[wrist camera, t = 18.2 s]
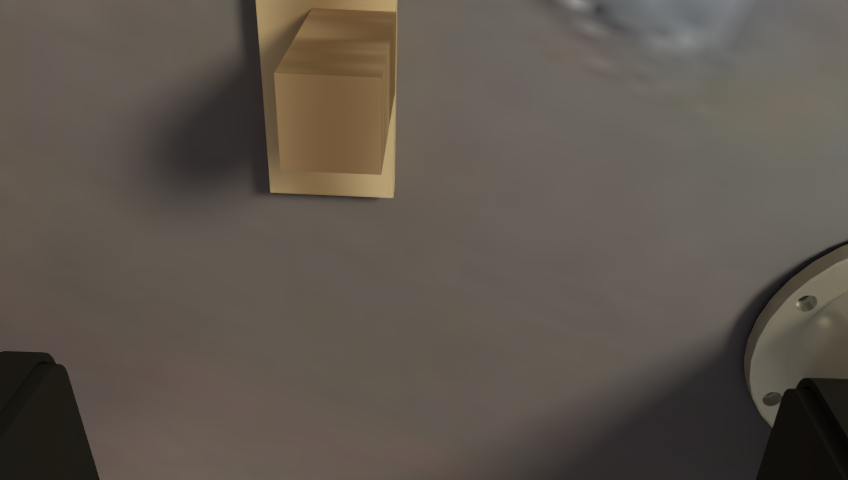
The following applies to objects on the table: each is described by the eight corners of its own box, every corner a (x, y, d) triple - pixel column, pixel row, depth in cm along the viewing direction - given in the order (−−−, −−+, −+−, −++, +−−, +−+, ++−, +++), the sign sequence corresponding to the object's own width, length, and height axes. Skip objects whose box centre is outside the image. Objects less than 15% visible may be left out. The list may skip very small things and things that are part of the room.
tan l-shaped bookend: (400, -132, 26) (383, -99, 19) (394, 184, 32) (380, 298, 25) (253, -138, 26) (181, -107, 19) (276, 179, 32) (227, 291, 25)
